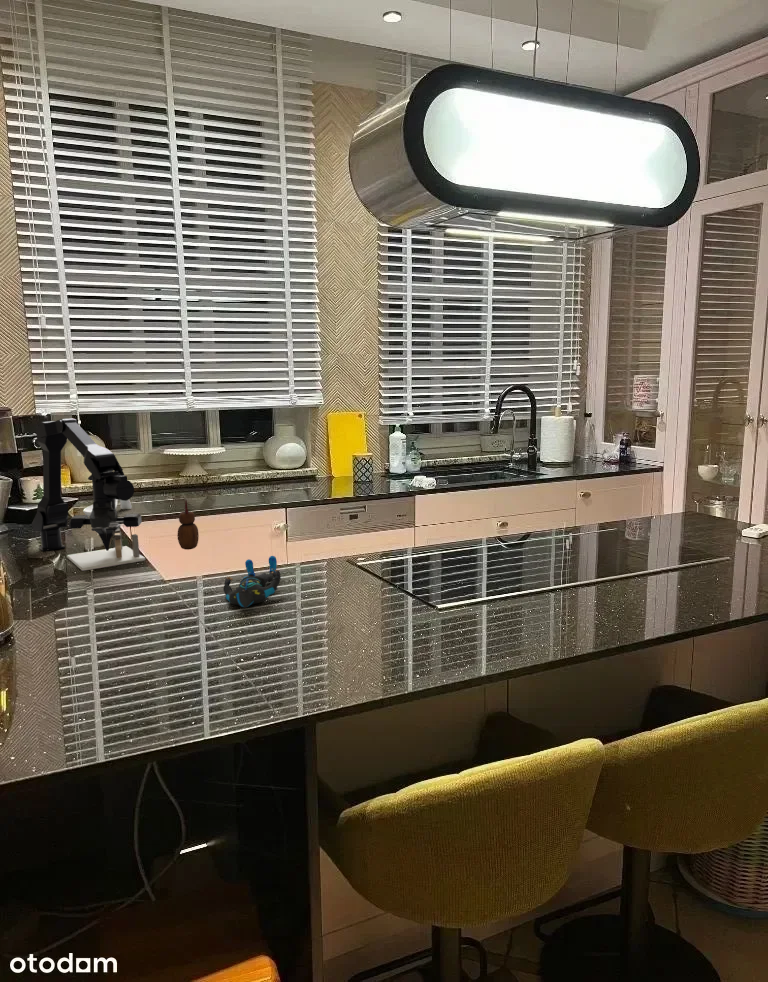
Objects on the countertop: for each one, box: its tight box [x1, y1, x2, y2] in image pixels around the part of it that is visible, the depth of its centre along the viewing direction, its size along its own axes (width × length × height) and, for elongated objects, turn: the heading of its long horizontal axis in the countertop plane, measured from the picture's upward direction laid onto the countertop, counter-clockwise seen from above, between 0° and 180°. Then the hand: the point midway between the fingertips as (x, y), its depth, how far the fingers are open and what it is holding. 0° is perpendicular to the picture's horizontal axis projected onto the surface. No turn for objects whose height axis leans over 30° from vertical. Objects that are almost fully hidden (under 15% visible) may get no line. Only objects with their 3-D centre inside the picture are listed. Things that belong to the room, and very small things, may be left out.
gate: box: [113, 528, 122, 558], centre depth 218 cm, size 14×2×6 cm, turn 20°
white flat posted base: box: [66, 531, 146, 572], centre depth 216 cm, size 19×17×7 cm
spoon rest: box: [83, 499, 132, 518], centre depth 287 cm, size 24×12×7 cm, turn 168°
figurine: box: [223, 555, 282, 609], centre depth 177 cm, size 13×6×30 cm
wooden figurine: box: [177, 500, 200, 551], centre depth 225 cm, size 7×6×15 cm
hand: (107, 550), depth 215 cm, fingers closed
